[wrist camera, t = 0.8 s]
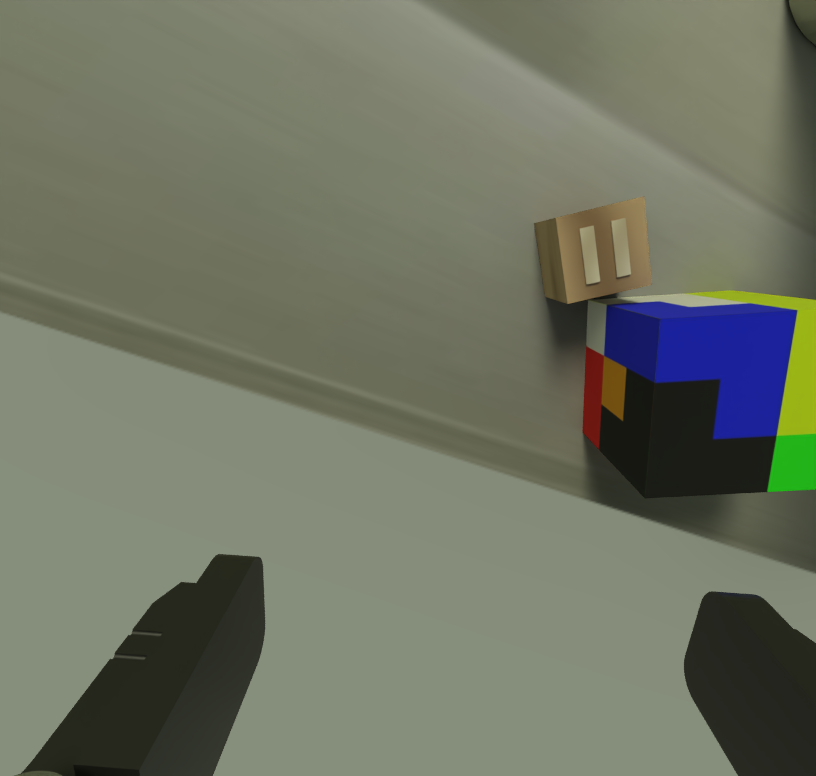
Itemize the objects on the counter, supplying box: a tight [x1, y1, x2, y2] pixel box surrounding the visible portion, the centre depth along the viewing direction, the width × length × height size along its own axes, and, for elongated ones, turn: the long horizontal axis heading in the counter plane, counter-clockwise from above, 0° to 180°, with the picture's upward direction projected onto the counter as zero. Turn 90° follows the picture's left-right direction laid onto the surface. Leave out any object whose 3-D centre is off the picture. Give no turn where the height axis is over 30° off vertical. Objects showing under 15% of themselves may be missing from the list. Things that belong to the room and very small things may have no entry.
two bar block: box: [534, 197, 652, 304], centre depth 29 cm, size 5×5×5 cm
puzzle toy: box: [583, 290, 816, 498], centre depth 29 cm, size 10×10×10 cm
